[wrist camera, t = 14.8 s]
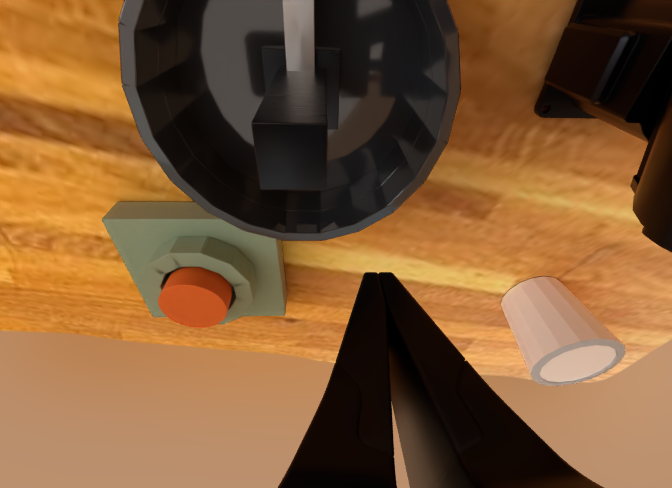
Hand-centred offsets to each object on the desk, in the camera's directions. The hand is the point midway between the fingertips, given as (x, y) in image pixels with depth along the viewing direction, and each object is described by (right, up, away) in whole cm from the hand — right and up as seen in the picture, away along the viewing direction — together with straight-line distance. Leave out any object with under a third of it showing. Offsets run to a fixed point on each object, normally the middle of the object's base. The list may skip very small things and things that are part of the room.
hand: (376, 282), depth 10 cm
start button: (-11, -2, +13) cm, 17 cm away
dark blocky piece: (-3, +10, +8) cm, 13 cm away
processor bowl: (-3, +10, +8) cm, 13 cm away
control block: (-11, 0, +16) cm, 19 cm away
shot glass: (+17, -4, +21) cm, 27 cm away
